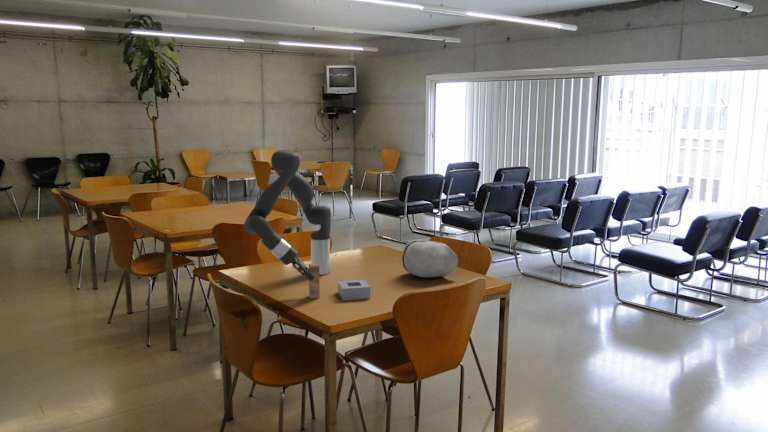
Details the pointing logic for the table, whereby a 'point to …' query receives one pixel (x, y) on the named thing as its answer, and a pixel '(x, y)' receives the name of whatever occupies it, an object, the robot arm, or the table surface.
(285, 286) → the table surface
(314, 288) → the peg
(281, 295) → the table surface
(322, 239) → the robot arm
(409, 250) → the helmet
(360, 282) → the socket
